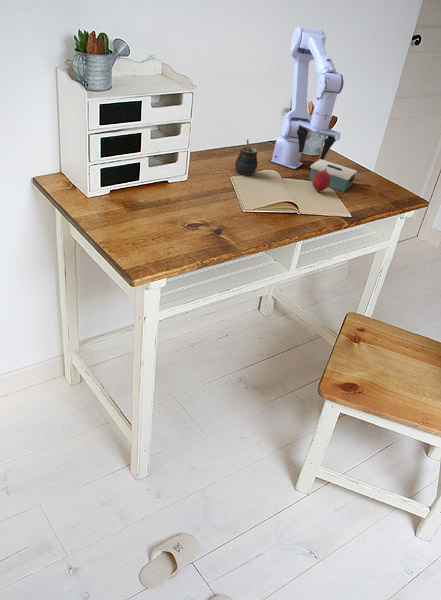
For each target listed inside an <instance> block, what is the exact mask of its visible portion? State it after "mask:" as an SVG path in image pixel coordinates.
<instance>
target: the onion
mask: <svg viewBox="0 0 441 600" xmlns="http://www.w3.org/2000/svg"><path fill="white" fill-rule="evenodd" d="M326 171H327V169H326V168H324V169H323V170H322V171H319V172H317V173H316V174H315V175H314V177H313V179H312V181H311V185H312V187H313V188H314V190H315V191H316V192H318V193H321V192H323V191H325V190H327V189H328V188H330V187H329V185H330V181H331V179H330V176H329V174H328V173H327V172H326Z"/></svg>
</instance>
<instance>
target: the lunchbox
mask: <svg viewBox="0 0 441 600" xmlns="http://www.w3.org/2000/svg"><path fill="white" fill-rule="evenodd" d="M309 168H310V172H309V175H308V179H307V180H308V181H311V182H312V179H313V177H314V175H315V174H316V173H317V172H319V171H322V170H323V169H324V168H326V169H327V171H326V172H327V173H328V174H329V176H330V179H331V181H330V185H329V187H328V188H331V189H333V190H337V191H339V192H342V193H344V192H345V191H347V190H348V189H349V188H351V186H353V184H354V183H353V182H354V180H355V178H356V175H357V173H358V170H355V169H353V168H349V167H346V166H344V165H340V164H337V163H335V162H331V161H328V160H325V159H323V160H321V159H320V158H319V159H318V160H316V161H314V162H312V164H310V167H309Z"/></svg>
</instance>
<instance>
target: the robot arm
mask: <svg viewBox="0 0 441 600" xmlns="http://www.w3.org/2000/svg"><path fill="white" fill-rule="evenodd" d="M326 41H327V37H326V33H325V31H324V30H316V29H311V28H310V29H309V28H303V27H300V26H297V27H296V28H295V30H294V31H293V34H292V36H291V45H290V51H291V52H290V55H291V57H292V58H293V59H294V61H293V62H294V63H293V80H292V95H291V96H292V98H291V110H290V111H288V112H287V113H285V114H284V116H283V117H282V122H281V127H280V134H281V135H279V136H278V137H277V139H276V141H275V145H274V149H273V154H272V157H271V160H270V162H272V163H275V164H277V165H280V166H283V167H287V168H289V169H293V170H296V169H298V168H299V167H301V166H302V165H303V162H301V157H302V154H303V152H304V150H305V145H306V143H307V141H308V140H310V138H312V135H313V133H315V134H317V135H320V136H325V138H324V141H323V147H322V152H321V155H320V158H319V160H320V159H321V160H325V158H326V157H327V154H328V153H329V150H330V149H331V148H332V146H333V145H334V144H335V142H336V141H339V140H340V138H341V135H342V133H341V132H337V131H335V130H333V129H331V128H329V126H330V123H331V119H332V115H333V111H334V107H335V105H336V104H335V103H336V100H337V97H338V95H339V94H340V93H341V92H342V91H343V88H344V84H345V78H344V75H343V73H340V72H338V71H337V69H336V67H335V65H334V62H333V59H332V58H331V56H328V55H327V52H326V49H325V45H326ZM313 60H314V64H313V69H314V70H315V74H316V76H317V82H316V93H315V94H316V95H315V96H316V100H315V104H314V109H313V111H312V115H311V114H310V113H309V112H308V111H307V102H308V101H307V99H308V86H309V85H308V84H309V69H310V62H311V61H313Z"/></svg>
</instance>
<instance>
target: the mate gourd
mask: <svg viewBox="0 0 441 600" xmlns="http://www.w3.org/2000/svg"><path fill="white" fill-rule="evenodd" d="M249 144H250V143H249V139H246V146H242V147H240V150H239V154H238V156H237V157H236V159H235V163H234V165H235V170H236V172H237V173H238V174H240V175H243V176H251V175H252V174H254V173H255V172H256V170H257V168H258V150H257V149H256V148H253V147H251V146H250V145H249Z"/></svg>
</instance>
